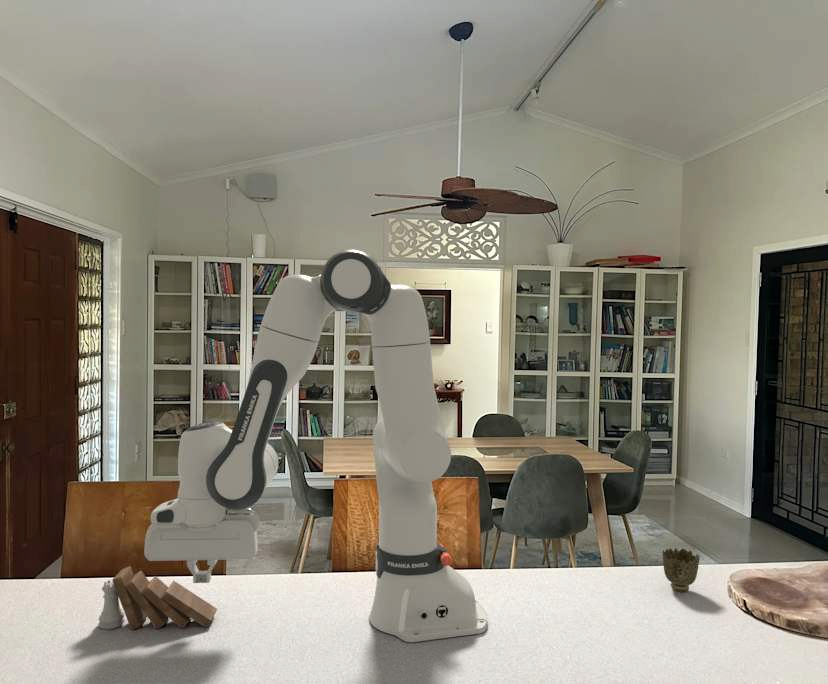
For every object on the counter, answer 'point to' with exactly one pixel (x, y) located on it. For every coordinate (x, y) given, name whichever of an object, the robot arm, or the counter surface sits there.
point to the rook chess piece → (110, 608)
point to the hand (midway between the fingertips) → (202, 581)
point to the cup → (680, 568)
